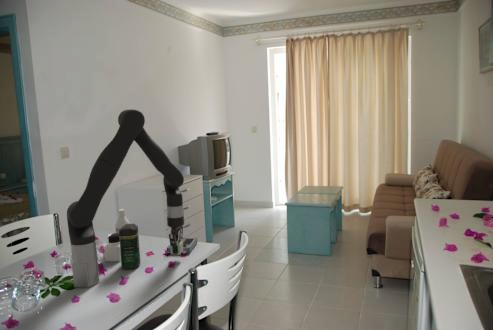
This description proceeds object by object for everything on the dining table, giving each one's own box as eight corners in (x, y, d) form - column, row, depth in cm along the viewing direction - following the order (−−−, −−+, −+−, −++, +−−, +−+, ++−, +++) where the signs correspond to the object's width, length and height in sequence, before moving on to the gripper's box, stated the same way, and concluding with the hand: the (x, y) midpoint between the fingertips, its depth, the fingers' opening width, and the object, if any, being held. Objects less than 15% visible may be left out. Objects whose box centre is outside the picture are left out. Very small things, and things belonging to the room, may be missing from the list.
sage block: (180, 254, 178) (180, 244, 178) (170, 254, 179) (170, 244, 178) (183, 251, 183) (182, 241, 182) (173, 250, 183) (173, 241, 183)
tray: (189, 254, 188) (189, 248, 188) (166, 254, 190) (166, 248, 189) (197, 243, 203) (196, 237, 203) (176, 243, 204) (175, 237, 204)
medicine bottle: (126, 256, 189) (124, 231, 188) (120, 261, 182) (118, 236, 181) (112, 256, 190) (109, 231, 188) (105, 261, 183) (103, 236, 181)
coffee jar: (138, 269, 173) (135, 227, 170) (120, 270, 172) (116, 229, 169) (142, 261, 182) (139, 221, 180) (124, 262, 181) (121, 222, 179)
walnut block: (183, 251, 191) (183, 242, 190) (174, 251, 191) (174, 242, 191) (186, 248, 195) (185, 239, 195) (177, 248, 196) (177, 239, 195)
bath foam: (123, 245, 205) (120, 207, 202) (134, 246, 202) (131, 208, 200) (114, 250, 198) (111, 211, 196) (126, 251, 196) (122, 211, 193)
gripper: (178, 219, 171) (180, 257, 173) (187, 211, 185) (189, 246, 187) (161, 219, 172) (163, 257, 174) (172, 211, 186) (173, 246, 188)
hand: (177, 251), depth 181 cm, fingers closed on sage block, 4 cm apart
